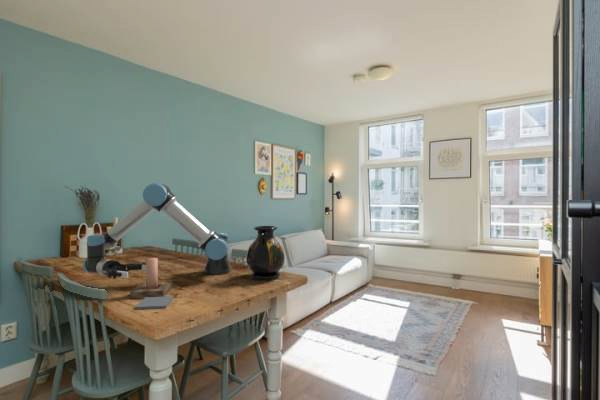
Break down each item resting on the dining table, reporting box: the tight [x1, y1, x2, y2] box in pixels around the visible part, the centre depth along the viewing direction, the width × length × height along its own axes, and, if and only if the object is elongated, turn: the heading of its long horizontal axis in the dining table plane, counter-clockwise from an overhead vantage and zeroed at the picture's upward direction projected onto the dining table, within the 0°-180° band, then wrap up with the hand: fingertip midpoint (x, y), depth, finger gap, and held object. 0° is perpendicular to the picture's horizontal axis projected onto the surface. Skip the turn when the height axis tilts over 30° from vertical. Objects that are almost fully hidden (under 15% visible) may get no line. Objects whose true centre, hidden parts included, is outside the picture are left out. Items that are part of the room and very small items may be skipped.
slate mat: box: [134, 295, 175, 310], centre depth 133 cm, size 12×12×1 cm
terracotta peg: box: [145, 257, 159, 289], centre depth 147 cm, size 5×5×16 cm
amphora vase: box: [245, 225, 286, 281], centre depth 177 cm, size 22×22×28 cm
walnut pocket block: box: [129, 281, 173, 299], centre depth 147 cm, size 14×14×3 cm
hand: (140, 271), depth 150 cm, fingers open, 13 cm apart
